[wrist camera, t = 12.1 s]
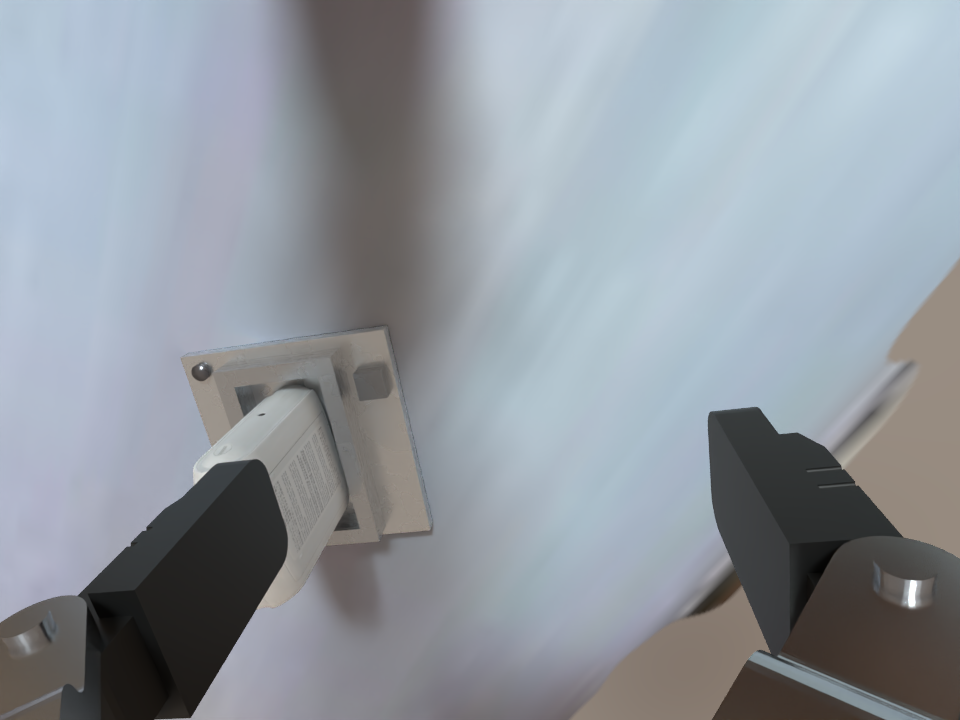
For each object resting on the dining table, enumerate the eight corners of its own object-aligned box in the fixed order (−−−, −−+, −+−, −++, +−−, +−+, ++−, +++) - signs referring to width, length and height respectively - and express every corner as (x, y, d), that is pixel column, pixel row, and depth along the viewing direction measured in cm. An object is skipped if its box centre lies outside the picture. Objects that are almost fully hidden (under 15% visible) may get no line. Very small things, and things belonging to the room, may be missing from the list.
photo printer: (261, 387, 44) (159, 479, 32) (317, 377, 43) (233, 467, 32) (306, 509, 47) (227, 633, 36) (358, 502, 46) (296, 625, 35)
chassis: (188, 352, 45) (164, 367, 42) (387, 325, 42) (375, 339, 40) (252, 538, 50) (235, 562, 47) (432, 522, 48) (425, 547, 45)
